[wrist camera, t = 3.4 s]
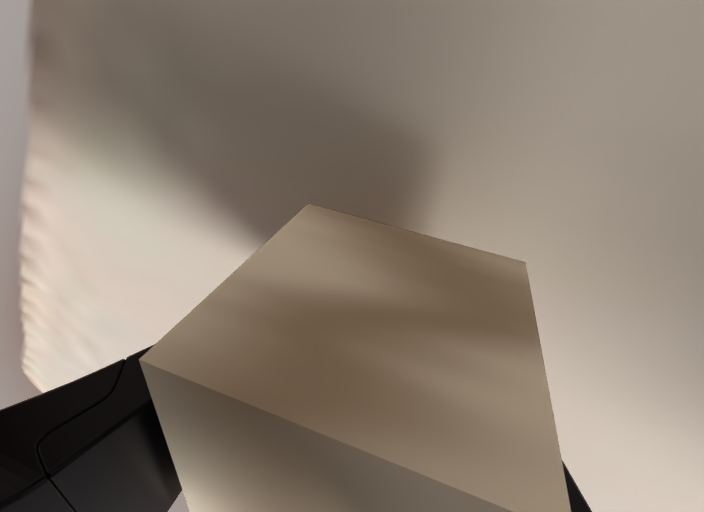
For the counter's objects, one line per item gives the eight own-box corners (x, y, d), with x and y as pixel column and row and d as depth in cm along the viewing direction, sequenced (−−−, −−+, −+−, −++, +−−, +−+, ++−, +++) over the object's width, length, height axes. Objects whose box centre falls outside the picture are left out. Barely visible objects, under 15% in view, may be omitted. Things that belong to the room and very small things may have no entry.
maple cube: (525, 262, 7) (575, 536, 3) (455, 400, 10) (435, 639, 6) (308, 203, 8) (138, 359, 4) (299, 344, 11) (192, 519, 7)
